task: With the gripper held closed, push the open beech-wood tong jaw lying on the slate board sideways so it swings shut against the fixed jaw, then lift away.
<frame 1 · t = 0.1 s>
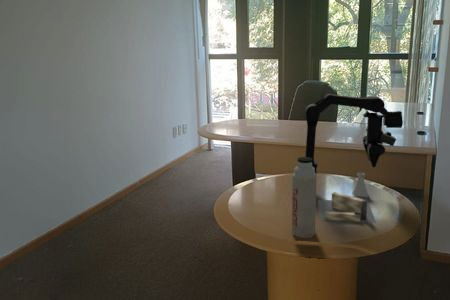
hand: (372, 163, 170), 15 cm above the table, tool pointing down, fingers open, 9 cm apart
flask: (359, 196, 175), on the table
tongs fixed: (363, 218, 150), resting on slate board
tongs jaw: (347, 203, 156), point 4 cm above the table, hinge at 35.0°
slate board: (344, 212, 158), on the table
thermos bottle: (303, 235, 141), on the table
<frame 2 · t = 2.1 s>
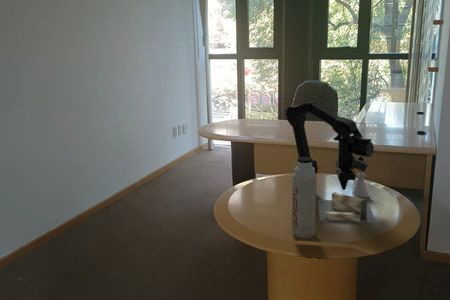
hand: (343, 189, 163), 7 cm above the table, tool pointing down, fingers closed
nothing on the table moved.
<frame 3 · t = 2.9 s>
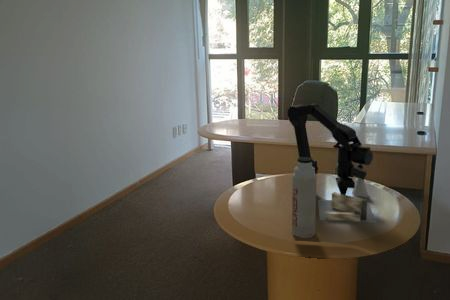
hand: (343, 196, 164), 4 cm above the table, tool pointing down, fingers closed
nothing on the table moved.
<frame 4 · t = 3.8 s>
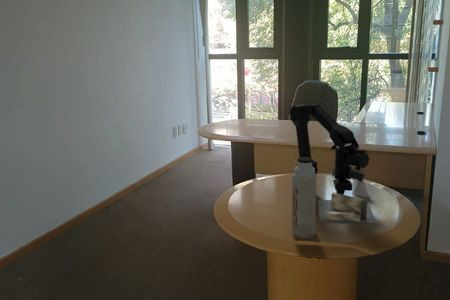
hand: (340, 199, 161), 4 cm above the table, tool pointing down, fingers closed
tongs jaw: (347, 203, 156), point 4 cm above the table, hinge at 34.2°, touching gripper
everything else where it was.
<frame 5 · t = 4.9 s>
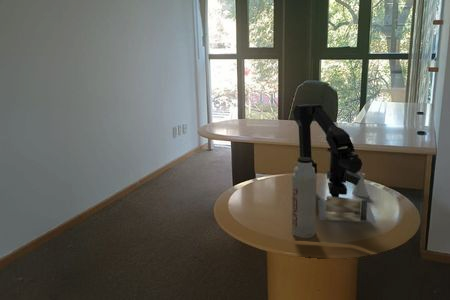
hand: (335, 202, 158), 4 cm above the table, tool pointing down, fingers closed
tongs jaw: (343, 205, 154), point 4 cm above the table, hinge at 14.6°, touching gripper
everything else where it was.
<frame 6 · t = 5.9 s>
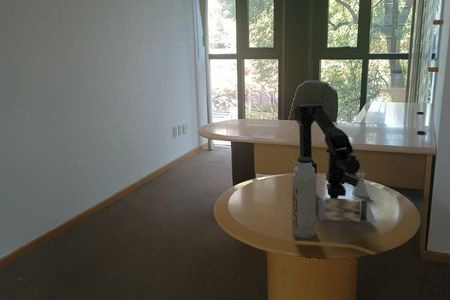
hand: (334, 204, 157), 4 cm above the table, tool pointing down, fingers closed
tongs jaw: (342, 207, 153), point 4 cm above the table, hinge at 5.7°, touching gripper
everything else where it was.
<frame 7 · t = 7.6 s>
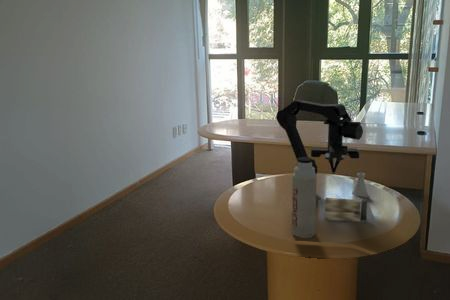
hand: (333, 172, 166), 13 cm above the table, tool pointing down, fingers closed
tongs jaw: (342, 207, 153), point 4 cm above the table, hinge at 5.3°
everything else where it was.
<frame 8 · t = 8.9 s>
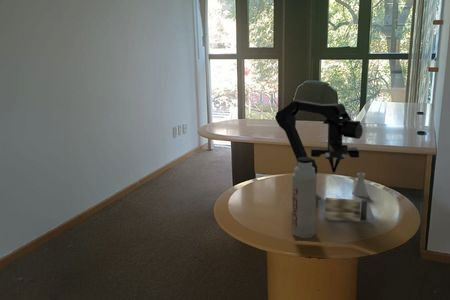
hand: (333, 172, 166), 13 cm above the table, tool pointing down, fingers closed
nothing on the table moved.
at the end: tongs jaw at +5° (first picture: +35°) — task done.
